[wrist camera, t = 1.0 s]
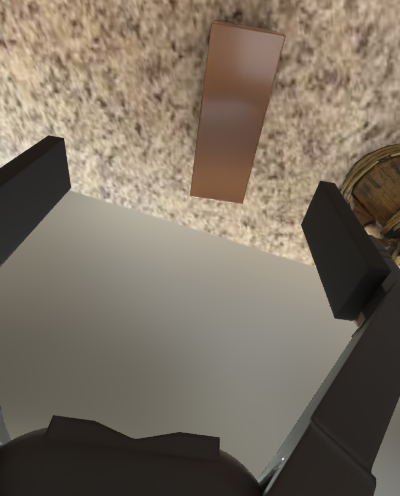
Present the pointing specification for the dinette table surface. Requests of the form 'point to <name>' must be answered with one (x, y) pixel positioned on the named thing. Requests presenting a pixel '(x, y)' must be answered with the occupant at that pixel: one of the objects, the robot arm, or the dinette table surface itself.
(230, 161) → the eraser
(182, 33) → the dinette table surface
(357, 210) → the wooden mug
